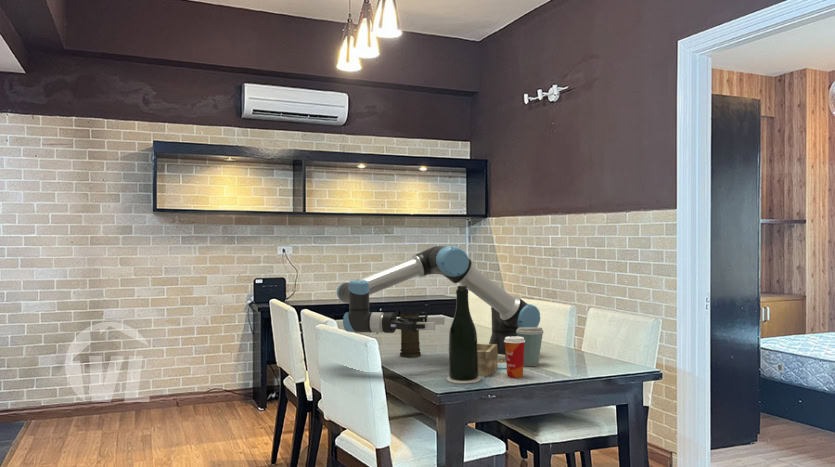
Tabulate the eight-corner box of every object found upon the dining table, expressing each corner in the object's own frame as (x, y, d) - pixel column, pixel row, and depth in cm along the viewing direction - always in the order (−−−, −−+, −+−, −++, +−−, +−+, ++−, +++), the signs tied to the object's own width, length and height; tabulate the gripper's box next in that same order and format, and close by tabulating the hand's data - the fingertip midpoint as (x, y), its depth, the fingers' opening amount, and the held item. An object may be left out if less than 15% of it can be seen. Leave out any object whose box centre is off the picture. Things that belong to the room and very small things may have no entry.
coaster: (478, 375, 235) (478, 373, 235) (483, 383, 223) (483, 381, 223) (445, 376, 234) (445, 374, 234) (448, 384, 222) (448, 382, 222)
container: (418, 357, 270) (417, 315, 270) (398, 357, 272) (397, 315, 272) (422, 353, 279) (422, 312, 279) (402, 353, 281) (402, 312, 281)
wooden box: (450, 374, 237) (449, 350, 237) (459, 365, 252) (459, 343, 252) (490, 376, 233) (489, 351, 233) (497, 367, 248) (497, 344, 248)
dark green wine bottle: (474, 373, 235) (472, 283, 235) (481, 380, 224) (480, 286, 224) (446, 375, 233) (444, 284, 233) (452, 382, 222) (451, 287, 222)
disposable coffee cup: (511, 363, 255) (510, 325, 255) (534, 361, 259) (534, 324, 259) (525, 368, 245) (524, 329, 245) (549, 366, 249) (548, 327, 249)
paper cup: (502, 374, 236) (501, 336, 236) (522, 373, 237) (522, 335, 237) (507, 379, 228) (506, 339, 228) (528, 378, 229) (527, 339, 229)
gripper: (395, 327, 250) (448, 328, 243) (372, 338, 226) (430, 339, 220) (394, 308, 249) (447, 308, 243) (372, 317, 226) (430, 317, 220)
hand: (439, 323), depth 231 cm, fingers open, 13 cm apart
